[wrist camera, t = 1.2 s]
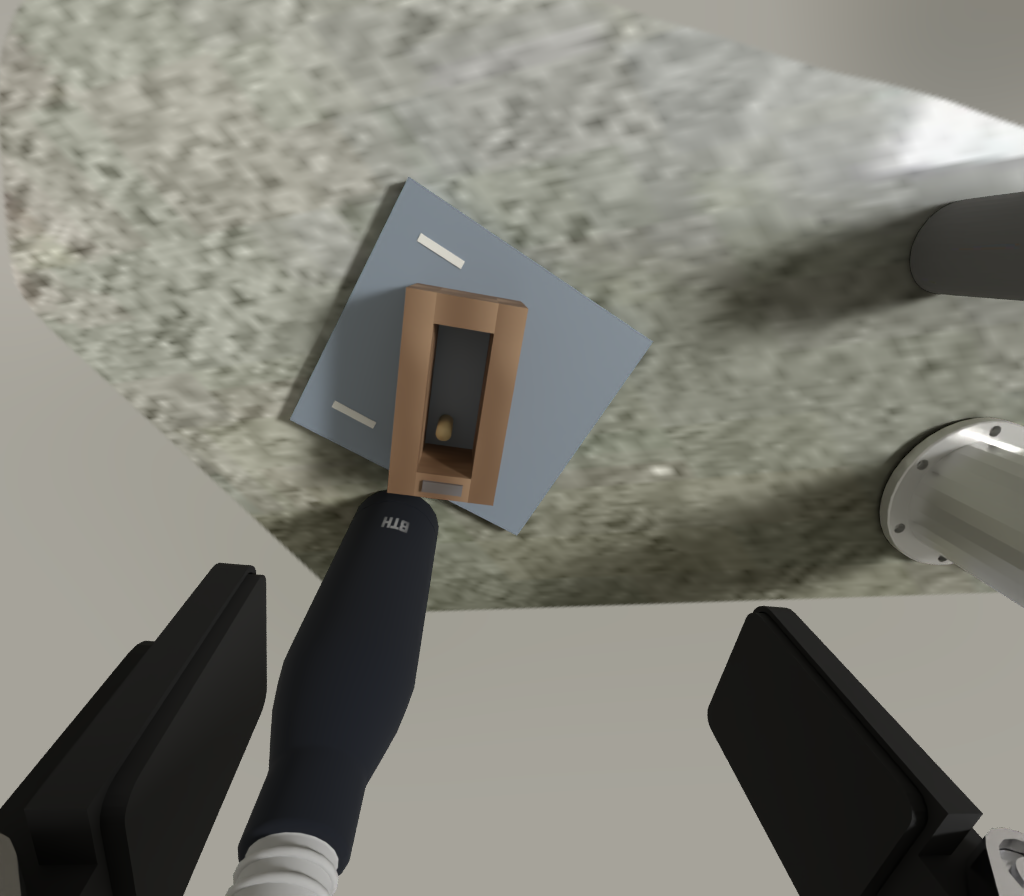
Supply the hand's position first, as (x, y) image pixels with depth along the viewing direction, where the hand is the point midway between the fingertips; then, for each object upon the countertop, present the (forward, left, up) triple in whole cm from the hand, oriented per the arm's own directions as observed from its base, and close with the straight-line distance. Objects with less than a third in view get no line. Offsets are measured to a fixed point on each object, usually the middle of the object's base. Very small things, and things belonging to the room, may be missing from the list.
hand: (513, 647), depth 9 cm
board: (+1, +1, -26) cm, 26 cm away
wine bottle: (0, +14, -26) cm, 30 cm away
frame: (+1, +2, -25) cm, 25 cm away
